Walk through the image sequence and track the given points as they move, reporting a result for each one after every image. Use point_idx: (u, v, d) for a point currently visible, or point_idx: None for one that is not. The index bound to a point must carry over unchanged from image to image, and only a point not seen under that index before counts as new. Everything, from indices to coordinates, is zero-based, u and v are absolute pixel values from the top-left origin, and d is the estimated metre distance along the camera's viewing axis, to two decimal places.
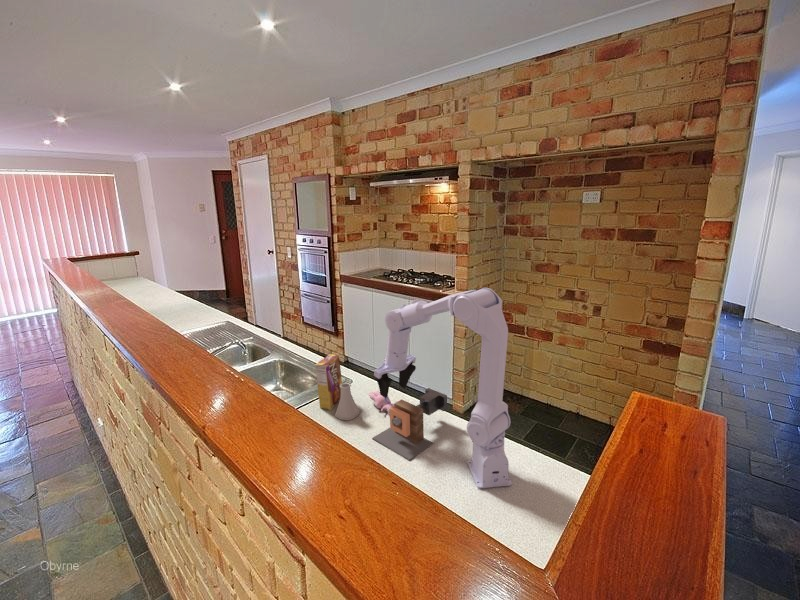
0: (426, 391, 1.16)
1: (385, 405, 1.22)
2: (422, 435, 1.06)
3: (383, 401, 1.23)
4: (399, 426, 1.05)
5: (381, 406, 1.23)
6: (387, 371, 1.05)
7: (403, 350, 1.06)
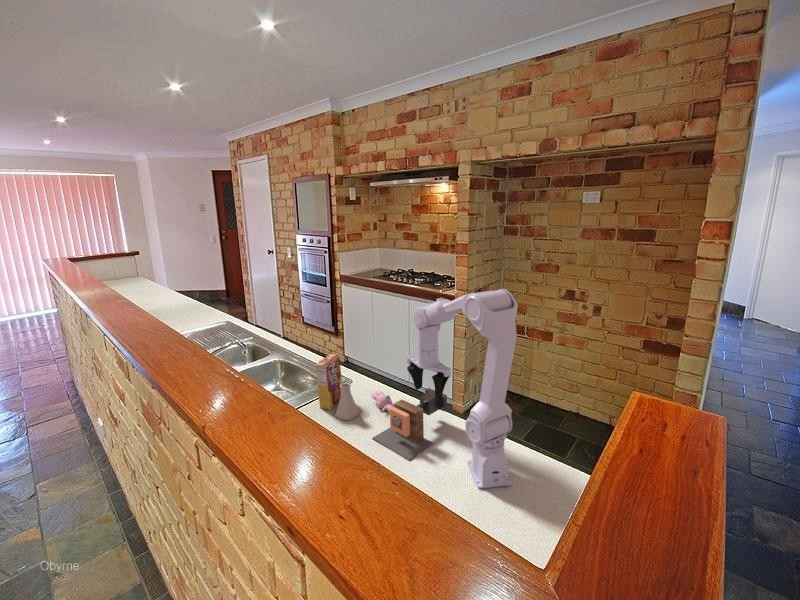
0: (426, 391, 1.16)
1: (386, 405, 1.22)
2: (422, 435, 1.06)
3: (385, 401, 1.23)
4: (399, 426, 1.05)
5: (383, 406, 1.23)
6: (412, 360, 1.12)
7: (432, 347, 1.06)
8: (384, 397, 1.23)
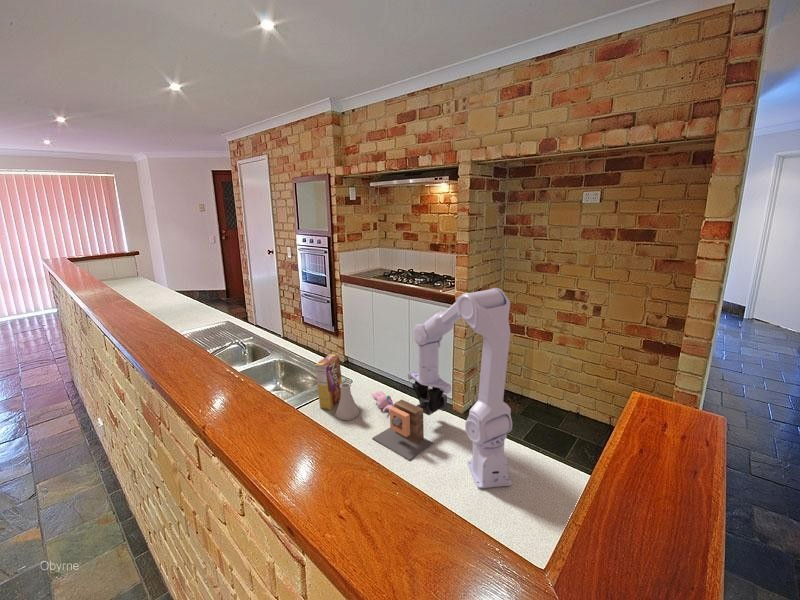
0: None
1: (387, 405, 1.22)
2: (422, 435, 1.06)
3: (385, 401, 1.23)
4: (399, 426, 1.05)
5: (383, 406, 1.23)
6: (412, 376, 1.13)
7: (432, 364, 1.07)
8: (385, 397, 1.23)
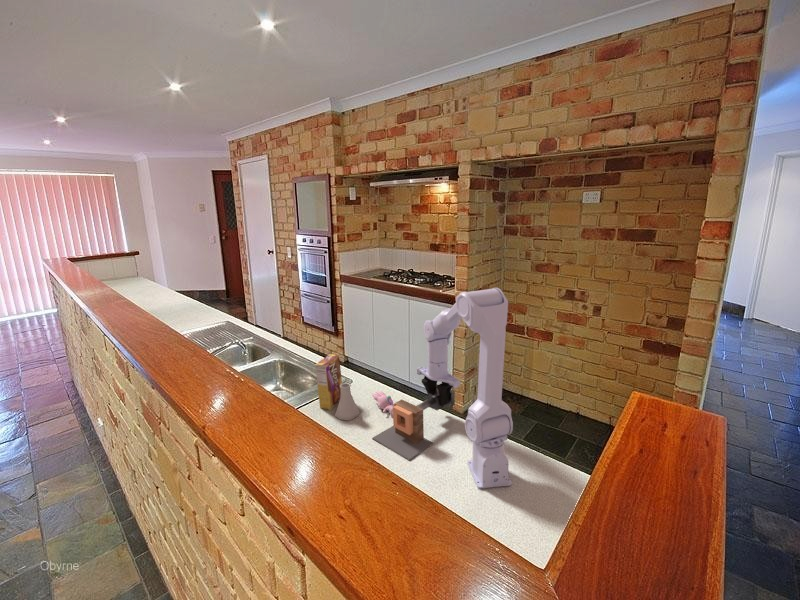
0: None
1: (388, 406, 1.22)
2: (422, 435, 1.06)
3: (386, 402, 1.22)
4: (402, 424, 1.06)
5: (384, 407, 1.22)
6: (422, 371, 1.16)
7: (440, 360, 1.10)
8: (385, 398, 1.23)
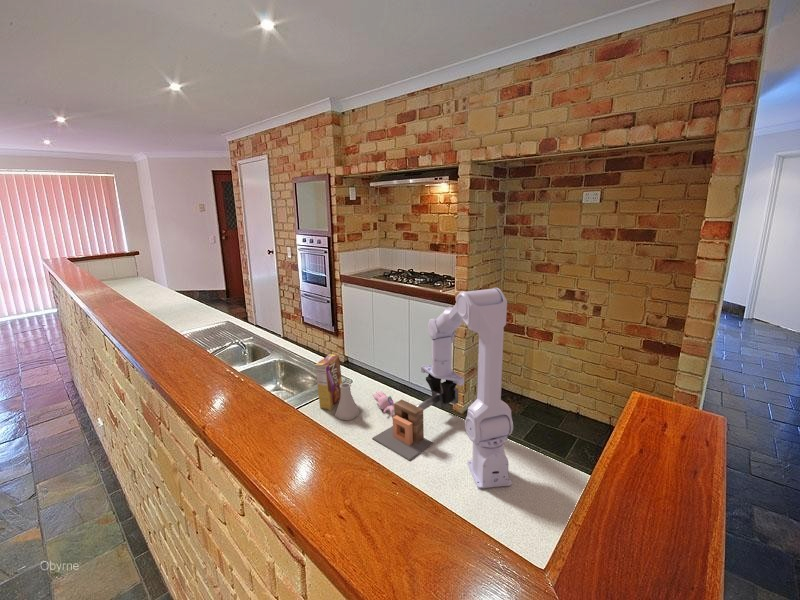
0: None
1: (388, 406, 1.21)
2: (422, 435, 1.06)
3: (386, 402, 1.22)
4: (402, 434, 1.07)
5: (384, 407, 1.22)
6: (426, 369, 1.17)
7: (443, 358, 1.11)
8: (386, 398, 1.23)
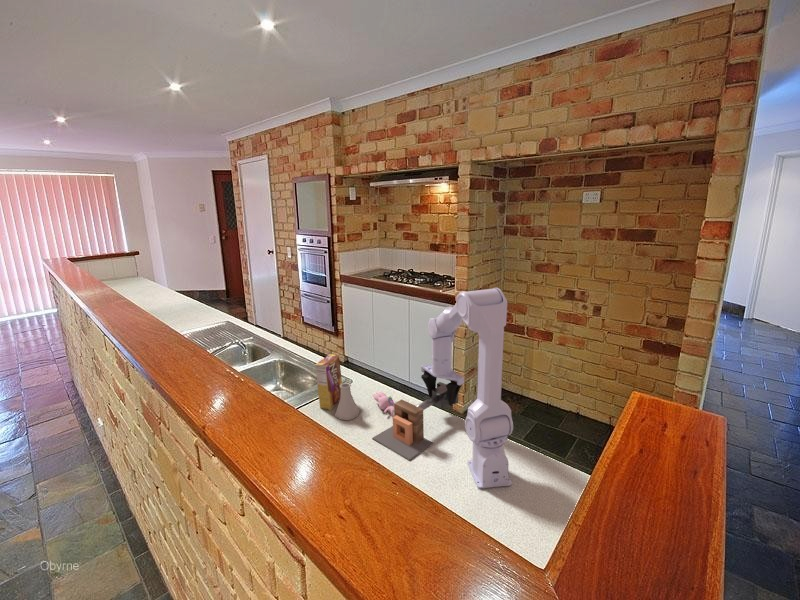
0: (438, 385, 1.20)
1: (388, 406, 1.21)
2: (422, 435, 1.06)
3: (387, 402, 1.22)
4: (402, 434, 1.07)
5: (385, 407, 1.22)
6: (426, 369, 1.17)
7: (443, 357, 1.11)
8: (386, 398, 1.23)
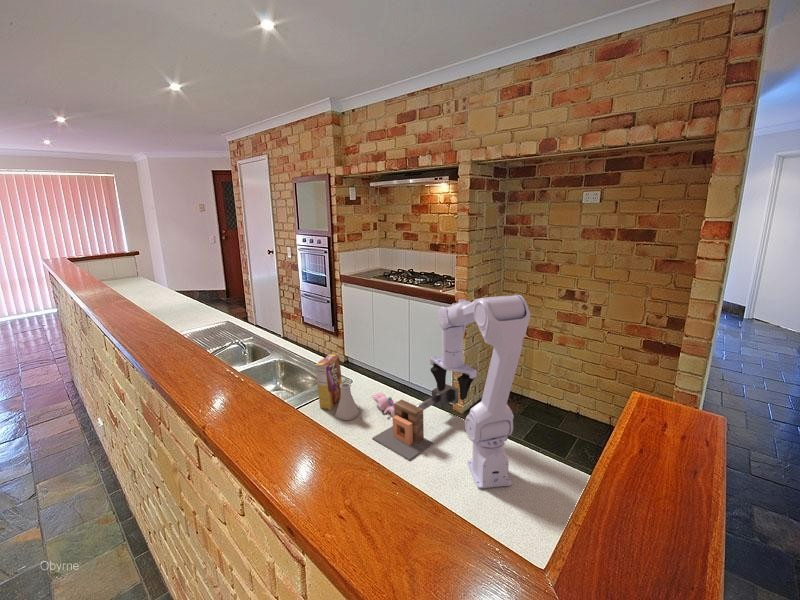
0: None
1: (388, 407, 1.21)
2: (422, 435, 1.06)
3: (386, 403, 1.21)
4: (402, 434, 1.07)
5: (384, 408, 1.22)
6: (435, 361, 1.10)
7: (454, 349, 1.04)
8: (386, 399, 1.22)
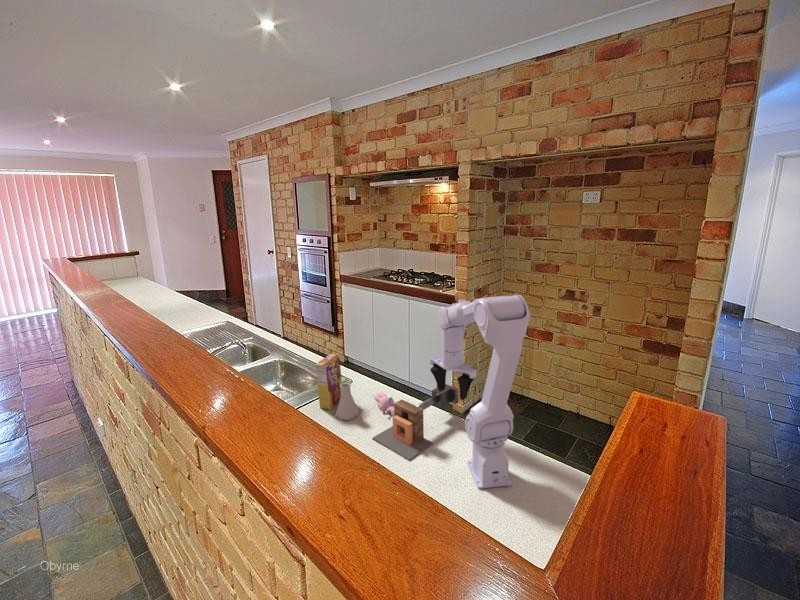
0: None
1: (389, 407, 1.21)
2: (422, 435, 1.06)
3: (387, 403, 1.21)
4: (402, 434, 1.07)
5: (385, 408, 1.22)
6: (435, 361, 1.10)
7: (454, 349, 1.04)
8: (387, 399, 1.22)
